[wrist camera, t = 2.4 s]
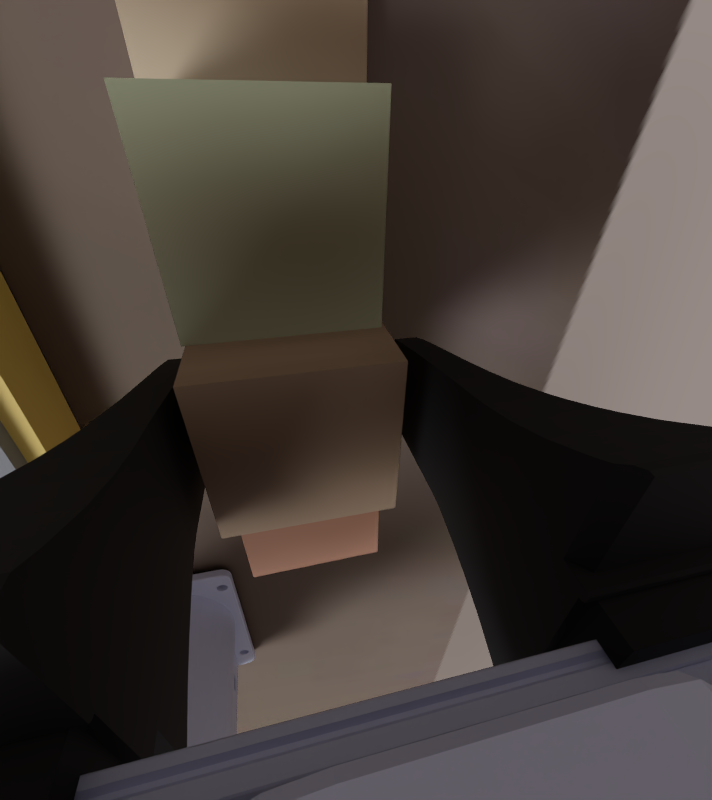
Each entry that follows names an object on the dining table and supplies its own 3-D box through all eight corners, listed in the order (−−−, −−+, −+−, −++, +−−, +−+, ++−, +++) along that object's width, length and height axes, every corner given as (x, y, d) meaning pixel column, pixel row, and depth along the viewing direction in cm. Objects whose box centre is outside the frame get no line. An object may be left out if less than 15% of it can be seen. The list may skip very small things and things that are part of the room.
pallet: (354, 488, 19) (397, 639, 13) (249, 505, 18) (248, 675, 13) (352, -68, 9) (535, -416, 3) (108, -89, 8) (-252, -632, 2)
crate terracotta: (352, 466, 16) (377, 551, 13) (252, 483, 15) (253, 577, 12) (350, 385, 14) (380, 464, 11) (232, 400, 13) (227, 490, 10)
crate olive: (345, 271, 11) (381, 327, 8) (201, 280, 11) (180, 346, 8) (342, 98, 9) (391, 83, 6) (159, 95, 8) (103, 77, 5)
